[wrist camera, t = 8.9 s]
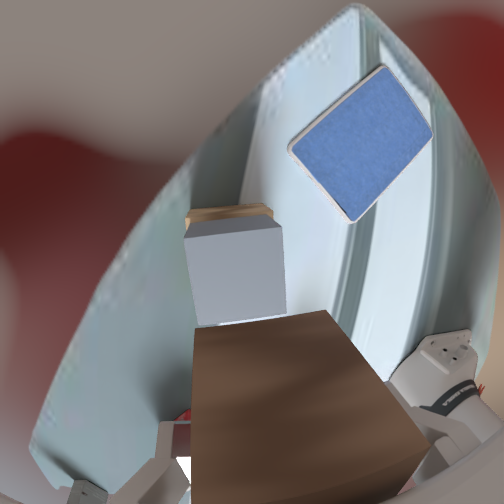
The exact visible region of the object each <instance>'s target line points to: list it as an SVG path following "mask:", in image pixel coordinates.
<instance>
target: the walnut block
mask: <svg viewBox="0 0 504 504" xmlns="http://www.w3.org/2000/svg"><path fill="white" fill-rule="evenodd" d="M430 447H431V444H430V443H429V442H428V440H427V439H426V438H425V436H424V435H423V434H422V432H421V431H420V430H419V428H418V427H417V426H416V424H415V423H414V422H413V420H412V419H411V418H410V416H409V415H408V414H407V412H406V411H405V410H404V409H403V407H402V406H401V405H400V403H399V402H398V401H397V399H396V398H395V397H394V396H393V394H392V393H391V392H390V390H389V389H388V388H387V386H386V385H385V384H384V383H383V381H382V380H381V379H380V377H379V376H378V375H377V374H376V372H375V371H374V370H373V368H372V367H371V366H370V365H369V363H368V362H367V361H366V360H365V358H364V357H363V356H362V354H361V353H360V352H359V351H358V349H357V348H356V347H355V346H354V344H353V343H352V342H351V341H350V339H349V338H348V337H347V336H346V334H345V333H344V332H343V331H342V329H341V328H340V327H339V326H338V324H337V323H336V322H335V321H334V319H333V318H332V317H331V316H330V314H329V313H328V312H327V311H326V310H321V311H316V312H310V313H304V314H298V315H292V316H286V317H280V318H274V319H267V320H260V321H253V322H246V323H238V324H230V325H222V326H214V327H205V328H195V335H194V351H193V370H192V394H191V436H190V474H191V504H379V503H381V502H384V501H386V500H388V499H390V498H393V497H395V496H396V495H397V494H398V492H399V491H400V490H401V489H402V487H403V486H404V485H405V483H406V482H407V481H408V479H409V478H410V477H411V475H412V474H413V473H414V471H415V470H416V468H417V467H418V465H419V464H420V462H421V461H422V459H423V458H424V456H425V455H426V453H427V452H428V450H429V449H430Z"/></svg>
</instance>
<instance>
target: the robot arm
mask: <svg viewBox="0 0 504 504" xmlns="http://www.w3.org/2000/svg"><path fill="white" fill-rule="evenodd" d="M471 341H472V333H471V331H470V330H469V329H466V330H460V331H455V332H449V333H443V334H436V335H430V336H426V337H425V338H424V339H423V340H422V341H421V343H420V344H419V345H418V347H417V348H416V350H415V351H414V352H413V353H412V354H411V355H410V356H409V357H408V358H406V359H405V360H404V361H403V362H402V364H401V365H400V366H399V367H398V368H397V369H396V371H395V372H394V374H393V375H392V377H391V378H390V380H389V381H386V382H383V383H384V384H385V385H386V386H387V388H388V389H389V390H390V392H391V393H392V394H393V396H394V397H395V398H396V399H397V401H398V402H399V403H400V405H401V406H402V407H403V409H404V410H405V411H406V412H407V414H408V415H409V416H410V418H411V419H412V420H413V422H414V423H415V424H416V426H417V427H418V428H419V430H420V431H421V432H422V434H423V435H424V436H425V438H426V439H427V440H428V442H429V443H430V444H431V447H430V449H429V450H428V452H427V453H426V455H425V456H424V458H423V459H422V461H421V462H420V464H419V465H420V466H419V467H418V469H417V470H416V472H415V473H414V475H413V477H412V478H413V480H414V481H415V483H416V485H417V486H415V487H413V488H411V489H409V490H408V491H405V492H403V493H401V494H399V495H397V496H395V497H393V498H390V499H388V500H386V501H384V502H381V503H379V504H504V421H503V420H502V419H501V418H500V417H499V416H498V415H497V414H496V413H495V412H494V411H493V410H492V409H491V408H490V407H489V406H488V405H487V404H486V403H485V402H484V401H483V400H482V399H481V398H480V395H481V393H482V391H483V389H484V387H485V386H484V387H483V388H482V390H481V387H482V384H481V385H480V386H479V389H477V387H476V384H475V382H474V378H475V373H476V368H477V362H478V356H477V353H476V351H475V350H474V349H473V348H472V347H471ZM190 436H191V421H161V422H160V424H159V427H158V435H157V443H156V452H155V458H150V459H149V460H148V461H147V462H146V463H145V464H144V465H143V467H142V468H141V469H140V470H139V471H138V472H137V473H136V474H135V475H134V476H133V477H132V478H131V479H130V480H129V481H128V482H127V483H126V484H125V485H124V486H123V487H121V488H120V489H119V490H118V491H117V492H116V493H115V494H114V495H113V496H112V497H111V498H110V502H109V504H178V503H179V501H180V500H181V498H182V497H183V495H184V494H185V492H186V491H187V489H188V488H189V486H190V485H191V484H190V483H191V474H190ZM0 504H23V503H21V502H18V501H16V500H14V499H12V498H10V497H8V496H6V495H4V494H2V493H0Z"/></svg>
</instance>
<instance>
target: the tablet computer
mask: <svg viewBox="0 0 504 504" xmlns="http://www.w3.org/2000/svg"><path fill="white" fill-rule="evenodd" d="M432 139H433V131H432V130H431V128H430V126H429V125H428V123H427V121H426V120H425V118H424V117H423V115H422V114H421V112H420V111H419V109H418V108H417V106H416V105H415V103H414V102H413V100H412V99H411V97H410V96H409V94H408V93H407V92H406V90H405V89H404V88H403V86H402V85H401V83H400V82H399V81H398V80H397V78H396V77H395V76H394V74H393V73H392V72H391V70H390V69H389V68H388V67H386V66H380V67H378V68H377V69H376V70H375V71H373V72H372V73H371V74H370V75H369V76H367V77H366V78H365V79H364V80H362V81H361V82H360V83H359V84H357V85H356V86H355V87H354V88H353V89H351V90H350V91H349V92H348V93H347V94H345V95H344V96H343V97H342V98H341V99H340V100H338V101H337V102H336V103H335V104H334V105H333V106H331V107H330V108H329V109H328V110H327V111H326V112H324V113H323V114H322V115H321V116H319V117H318V118H317V119H316V120H315V121H314V122H312V123H311V124H310V125H309V127H307V128H306V129H305V130H304V131H303V132H301V134H300V135H299V136H297V137H296V138H295V139H294V140H293V141H292V142H291V143H290V144H289V145H288V147H287V152H288V154H289V156H290V157H291V158H292V159H293V160H294V161H295V162H296V163H297V164H298V165H299V167H300V168H301V169H302V170H303V171H304V172H305V173H306V175H307V176H308V177H309V178H310V179H311V180H312V181H313V182H314V184H315V185H316V186H317V187H318V188H319V189H320V191H321V192H322V193H323V194H324V195H325V197H326V198H327V199H328V200H329V201H330V203H331V204H332V205H333V206H334V207H335V209H336V210H337V211H338V212H339V214H340V215H341V216H342V217H343V219H344V220H345V221H346V222H347V223H349V224H353V223H356V222H357V221H358V220H359V219H360V218H361V217H362V216H363V215H364V214H365V213H366V212H367V210H368V209H369V208H370V207H371V206H372V205H373V204H374V203H375V202H376V201H377V200H378V199H379V198H380V197H381V196H382V194H383V193H384V192H385V191H386V190H387V189H388V188H389V187H390V186H391V185H392V184H393V183H394V182H395V180H396V179H397V178H398V177H399V176H400V175H401V174H402V173H403V172H404V171H405V169H406V168H407V167H408V166H409V165H410V164H411V163H412V162H413V161H414V160H415V158H416V157H417V156H418V155H419V154H420V153H421V152H422V150H423V149H424V148H425V147H426V146H427V145H428V144H429V142H430V141H431V140H432Z"/></svg>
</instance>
